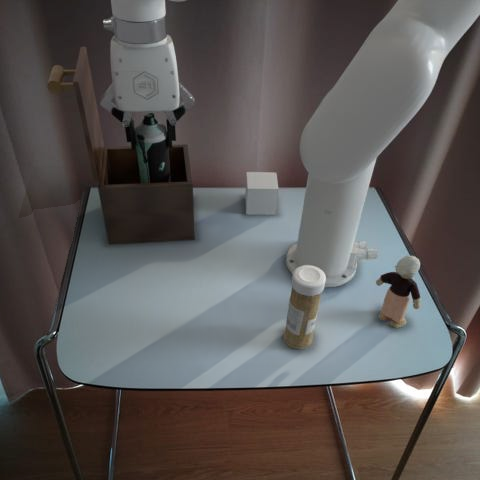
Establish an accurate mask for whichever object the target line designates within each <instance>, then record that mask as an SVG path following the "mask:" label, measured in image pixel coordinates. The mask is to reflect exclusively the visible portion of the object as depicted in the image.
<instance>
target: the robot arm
mask: <svg viewBox="0 0 480 480" xmlns="http://www.w3.org/2000/svg"><path fill="white" fill-rule="evenodd" d="M169 1H170V2H176V3H179V2H180V3H181V2H186V1H187V0H169ZM110 5H111V13H112V15H111V16H110V17H108V18H107V19H105V18H104V19H102V23H103V30H104V31H109V32H112V34H114V35H113V36H112V37H111V40H110V46H109V47H110V49H109V50H110V52H109V53H110V55H109V57H110V58H109V59H110V72H111V84H110V85H109V87H108V88H107V89H106V91H105V92H104V93H103V94H102V96H101V98H100V100H99V105H100V106H101V107H102V108H103V109H104V110H106V111H107V112H108V113H110V114H111V115H112V116H113V117H114V118H116V120H118V121H119V122H120V123H121V124H122V126H123V127H124V130H125V138H126V143H130V146H131V147H132V149H135V148H136V141H135V120H134V119H133V117H132V116H133V113H158V112H159V113H160V112H164V113H165V116H166V118H167V119H166V131H167V136H168V147H169V148H172V145H173V142H177V134H176V125H177V124H178V122H179V120H180V119H181V118H182V117H183V116H184V115H185V114H186V112H187V111H189V110H190V109H191V108H192V107H193V106H194V105H195V104H196V100H195V97H194V95H193V94H192V93H191V92H190V91H189V90H188V89H187V88H186V87H185V86H184V85H183V84H182V83H181V81H179V72H178V62H177V56H176V51H175V45H174V42H173V38H172V36H171V35H170V34H168V29H167V27H168V26H167V14H166V13H167V10H166V0H110ZM479 16H480V0H397V1H396V2H395V4H394V5H393V6H392V7H391V9H390V10H389V11H388V13H387V14H386V15H385V16H384V17H383V19H381V21H379V23H377V24H376V26H375V27H374V28H373V29H372V30H371V31H370V33H369V34H368V36H367V37H366V39H365V40H364V42H363V43H362V45H361V46H360V47H359V49H358V51H357V52H356V54H355V55H354V57H353V58H352V60H351V61H350V63H349V64H348V65H347V67H346V68H345V70H344V71H343V72H342V74H341V76H340V77H339V79H338V80H337V81H336V82H335V84H334V85H333V87H332V88H331V89H330V90H329V91H328V92H327V93H326V94H325V96H324V97H323V99H322V100H321V102H320V103H319V104H318V106H317V107H316V109H315V111H314V113H313V114H312V115H311V117H310V118H309V120H308V121H307V123H306V125H305V127H303V130H302V133H301V135H300V141H299V156H300V159H301V162H302V165H303V168H304V169H305V170H306V171H307V181H306V184H305V185H306V187H305V192H304V198H303V205H302V211H301V219H300V225H299V229H298V230H299V231H298V237H297V242H295V243H294V244H292V245H291V246H290V247H289V249H288V251H287V253H286V259H285V260H286V261H285V263H286V267H287V269H288V271H289V273H291V275H293V272H294V271H295V269H297V268H298V267H300V266H304V265H311V266H315V267H317V268H319V269H321V270H322V271H323V272H324V274H325V276H326V281H325V286H324V288H334V287H339V286H342V285H345V284H346V283H348V282H350V281H351V280H352V279H353V278H354V276H355V274H356V271H357V269H358V268H357V267H358V263H359V262H360V261H361V260H377V258H378V257H379V256H378V255H379V253H378V249H377V248H376V247H372V248H371V247H370V248H367V242H366V241H365V240H364V241H363V240H362V241H356V238H357V237H356V236H357V232H358V230H359V226H360V221H361V217H362V213H363V210H364V205H365V202H366V199H367V195H368V191H369V187H370V184H371V179H372V177H373V173H374V168H375V165H376V162H377V160H378V159H377V158H379V155H381V153H382V152H383V151H384V150H385V149H386V148H387V147H388V146H389V145H390V144H391V143H392V141H393V140H394V139H396V137H397V136H398V135H399V134H400V133H401V132H402V131H403V130H404V128H405V127H406V126H407V125H408V124H409V122H410V121H412V119H413V118H414V117H415V116H416V115H417V113H418V112H419V111H420V109H422V107H423V106H424V105H425V103H426V101H427V100H428V98H429V97H430V95H431V93H432V91H433V89H434V88H435V86H436V82H437V80H438V77H439V74H440V71H441V68H442V66H443V63H444V61H445V59H446V58H447V56H448V55H449V53H450V52H451V51H452V49H454V47H455V46H456V45H457V43H458V42H459V41H460V39H461V38H462V37H463V36H464V34H466V32H468V30H469V29H470V28H471V27H472V25H473V24H474V23H475V22H476V21H477V19H478V18H479ZM180 97H181V99H182V101H181V102H180ZM113 99H114V102H113Z"/></svg>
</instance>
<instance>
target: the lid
mask: <svg viewBox="0 0 480 480" xmlns="http://www.w3.org/2000/svg"><path fill="white" fill-rule="evenodd" d="M87 50H88V49H87V47H86V46H80V48H79V53H78V58H77V62H76V67H75V69H65V68H64V67H63V66H62V65H59V64H55V65H54V66H53V67H52V68H51V71H50V75H49V77H48V81H47V85H46V88H47V90H48V91H49V93H51V94H52V95H59V94H60V93H61V92H62V90H74V93H75V98H76V104H77V108H78V113H79V118H80V122H81V128H82V132H83V136H84V140H85V146H86V150H87V155H88V160H89V165H90V170H91V174H92V178H93V183H94V186H98V185H100V177H101V167H102V158H103V148H104V147H105V143H104V138H103V132H102V126H101V121H100V115H99V111H98V105H97V99H96V95H95V88H94V83H93V78H92V73H91V72H92V71H91V67H90V61H89V56H88V51H87ZM72 76H73V80H72V82H64V81H65V78H66V77H72Z"/></svg>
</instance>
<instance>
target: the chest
mask: <svg viewBox="0 0 480 480" xmlns="http://www.w3.org/2000/svg"><path fill="white" fill-rule="evenodd" d="M168 149H169V162H170V175H171V182H167V183H142V184H141V180H140V172H139V164H138V156H137V149H136V148H135V149H132V147H131V145H127V146H126V145H125V146H122V145H121V146H120V145H119V146H104V148H103V158H102V167H101V177H100V185H97V192H98V196H99V201H100V205H101V206H100V207H101V211H102V215H103V216H102V217H103V220H104V226H105V231H106V236H107V241H108V245H122V244H123V245H124V244H141V243H143V244H144V243H159V242H175V241H176V242H179V241H181V242H182V241H195V239H196V236H195V235H196V233H195V210H194V209H195V208H194V207H195V206H194V184H193V183H194V182H193V176H192V175H193V174H192V167H191V159H190V151H189V145H188V143H187V144H172V148H169V147H168Z"/></svg>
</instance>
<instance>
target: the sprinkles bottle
mask: <svg viewBox="0 0 480 480" xmlns="http://www.w3.org/2000/svg"><path fill="white" fill-rule="evenodd" d="M325 281H326V276H325V274H324V272H323V271H322V270H321V269H319V268H317V267H315V266H311V265H304V266H300V267H298V268H297V269H295V271H294V272H293V274H292V276H291V291H290V296H289V300H288V307H287V314H286V319H285V330H284V333H283V340H284V343H285V344H286V345H287V346H288V347H289V348H292V349H295V350H304V349H306V348H308V347H309V346H311V344H312V342H313V335H314V331H315V327H316V322H317V319H318V318H317V317H318V312H319V308H320V307H319V306H320V302H321V297H322V292H323V291H324V290H325V287H324V286H325Z"/></svg>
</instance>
